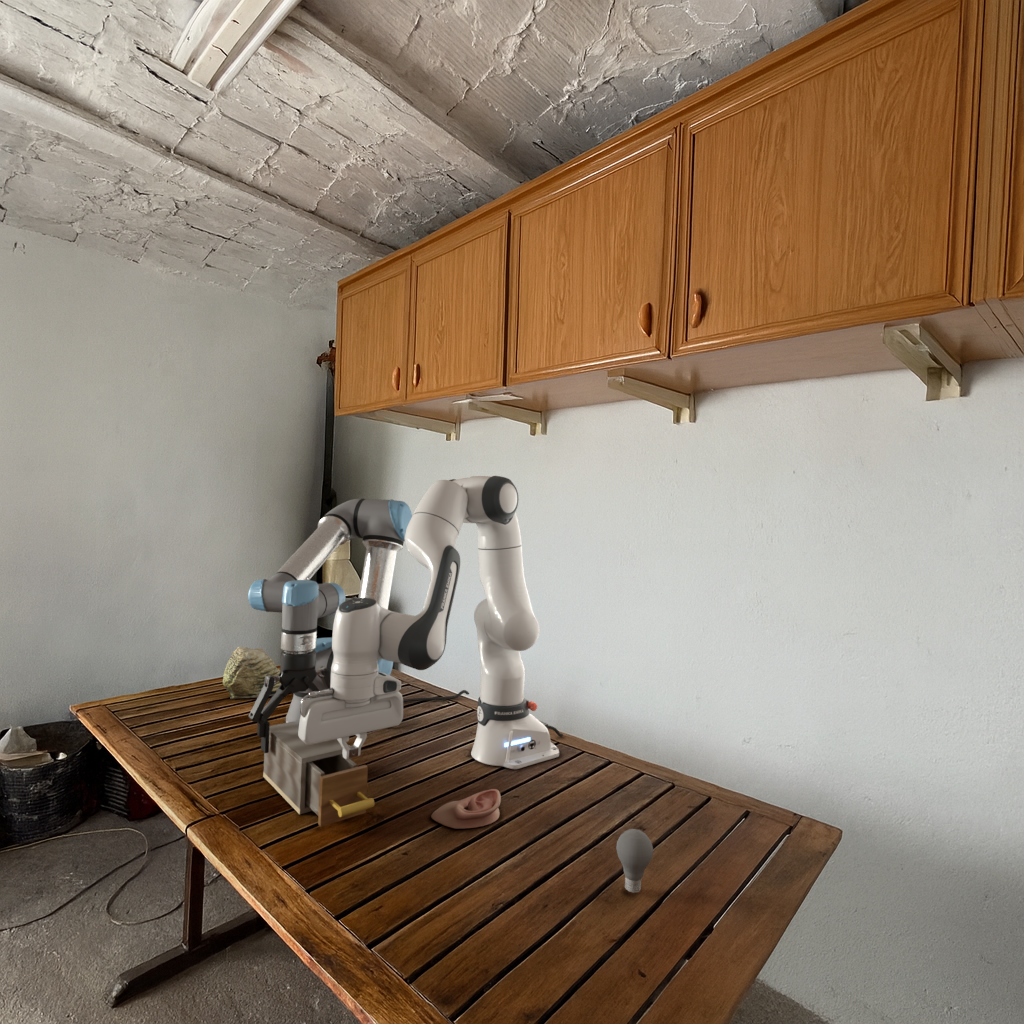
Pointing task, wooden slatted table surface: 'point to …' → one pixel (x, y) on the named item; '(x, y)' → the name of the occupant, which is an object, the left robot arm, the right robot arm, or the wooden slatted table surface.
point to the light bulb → (634, 857)
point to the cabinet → (293, 762)
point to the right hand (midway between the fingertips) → (351, 756)
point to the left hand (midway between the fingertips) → (295, 744)
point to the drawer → (336, 789)
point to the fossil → (248, 672)
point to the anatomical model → (470, 811)
